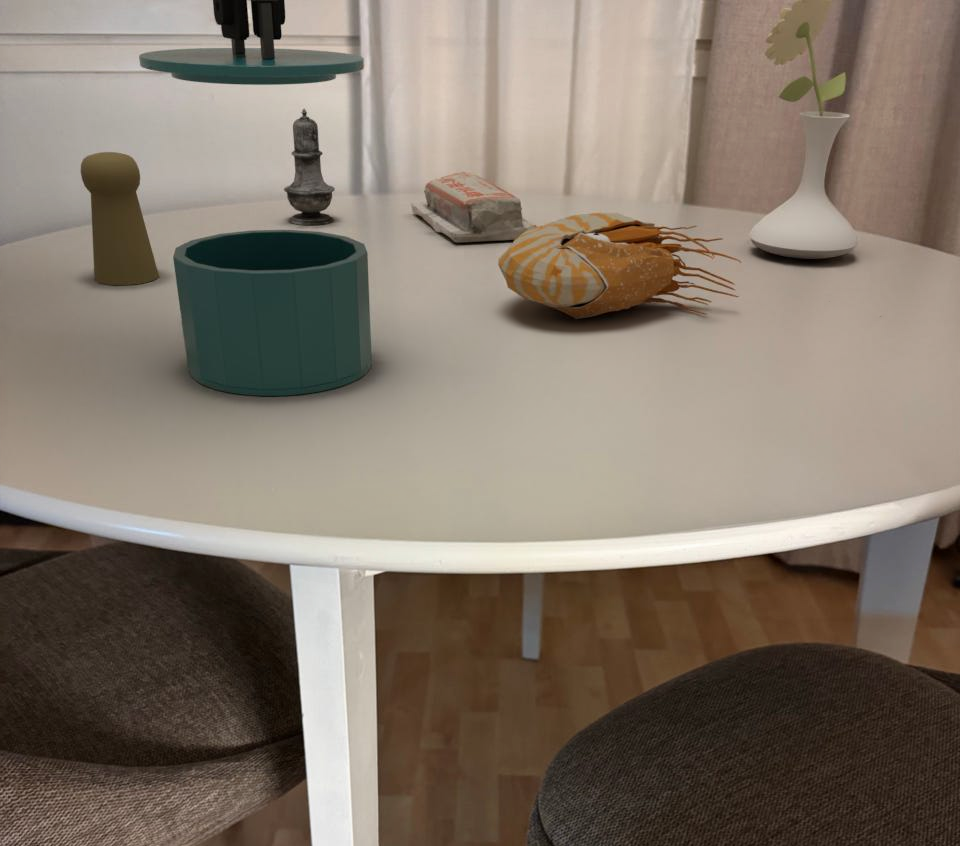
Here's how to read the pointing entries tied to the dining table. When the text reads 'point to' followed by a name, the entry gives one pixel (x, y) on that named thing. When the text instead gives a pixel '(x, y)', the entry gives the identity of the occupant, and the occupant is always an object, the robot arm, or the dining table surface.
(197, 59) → the tin lid
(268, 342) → the tin
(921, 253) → the dining table surface
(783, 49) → the flower in vase
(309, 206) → the salt shaker
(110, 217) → the cork
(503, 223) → the packaged product
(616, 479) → the dining table surface
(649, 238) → the nautilus
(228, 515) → the dining table surface
